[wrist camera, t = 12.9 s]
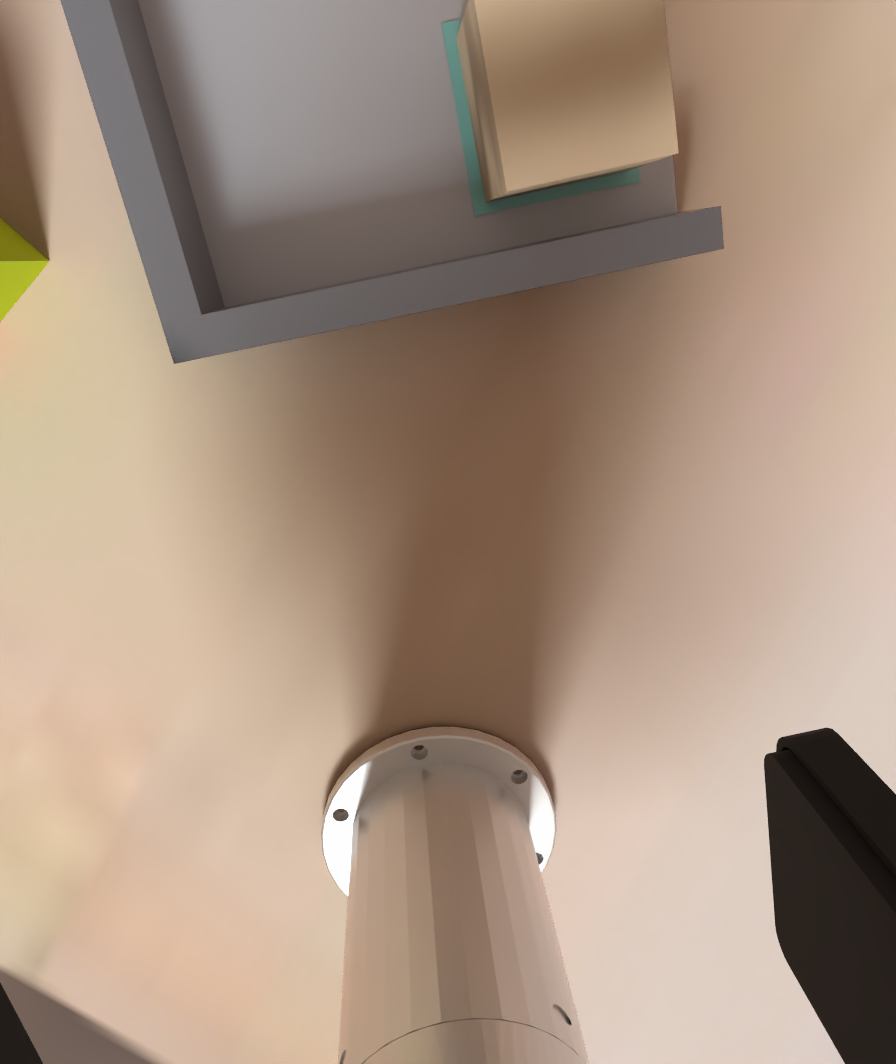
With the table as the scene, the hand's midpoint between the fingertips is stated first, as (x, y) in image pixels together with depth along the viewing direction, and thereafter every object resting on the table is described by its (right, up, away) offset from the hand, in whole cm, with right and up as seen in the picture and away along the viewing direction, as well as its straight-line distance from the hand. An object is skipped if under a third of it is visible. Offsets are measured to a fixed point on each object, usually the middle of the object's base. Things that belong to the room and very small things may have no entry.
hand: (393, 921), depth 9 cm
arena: (-1, +23, +22) cm, 32 cm away
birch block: (+5, +22, +22) cm, 31 cm away
